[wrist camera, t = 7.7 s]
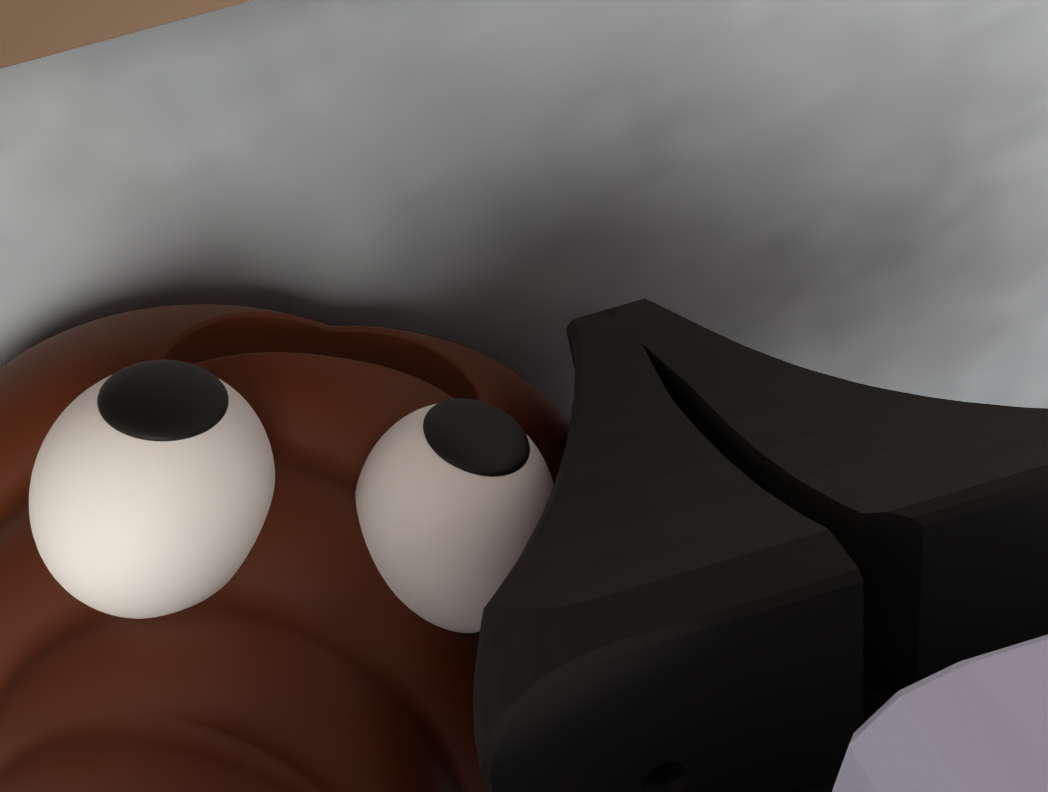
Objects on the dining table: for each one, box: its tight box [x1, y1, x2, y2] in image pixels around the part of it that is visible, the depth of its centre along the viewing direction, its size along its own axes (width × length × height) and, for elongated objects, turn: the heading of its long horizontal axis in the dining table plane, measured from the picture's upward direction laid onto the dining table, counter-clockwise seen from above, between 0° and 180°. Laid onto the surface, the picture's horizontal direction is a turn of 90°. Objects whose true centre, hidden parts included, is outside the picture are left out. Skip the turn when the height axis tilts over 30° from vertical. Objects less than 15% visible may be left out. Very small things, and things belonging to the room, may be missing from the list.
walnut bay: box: [0, 0, 252, 68], centre depth 11 cm, size 14×14×4 cm
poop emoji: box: [0, 304, 570, 792], centre depth 10 cm, size 10×8×9 cm
